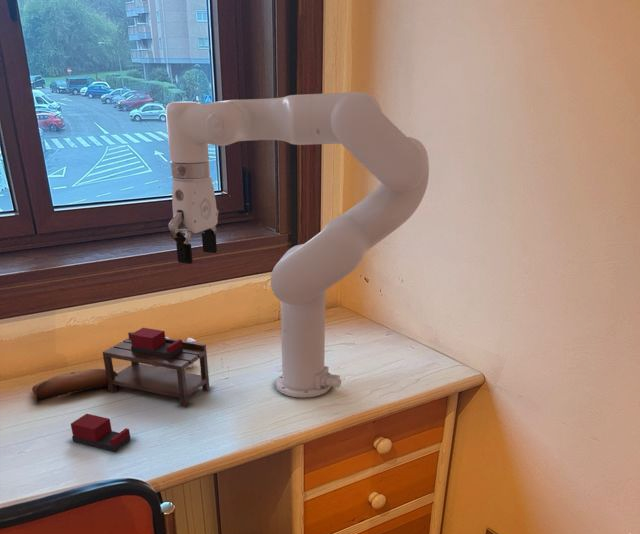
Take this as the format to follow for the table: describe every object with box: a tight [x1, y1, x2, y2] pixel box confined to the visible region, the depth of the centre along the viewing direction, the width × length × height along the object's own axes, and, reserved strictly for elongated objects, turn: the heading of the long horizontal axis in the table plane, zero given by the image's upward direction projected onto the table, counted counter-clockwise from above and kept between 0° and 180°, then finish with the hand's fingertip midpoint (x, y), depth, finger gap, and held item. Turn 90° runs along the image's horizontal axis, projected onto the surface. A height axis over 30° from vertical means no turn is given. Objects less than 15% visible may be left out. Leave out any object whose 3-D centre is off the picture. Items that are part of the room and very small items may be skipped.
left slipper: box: [70, 413, 132, 453], centre depth 123 cm, size 10×5×4 cm, turn 68°
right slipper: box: [130, 327, 183, 359], centre depth 138 cm, size 10×5×4 cm, turn 68°
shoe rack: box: [102, 331, 211, 408], centre depth 141 cm, size 20×10×11 cm, turn 68°
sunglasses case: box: [31, 368, 118, 404], centre depth 143 cm, size 18×7×7 cm
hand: (198, 257), depth 136 cm, fingers open, 9 cm apart
